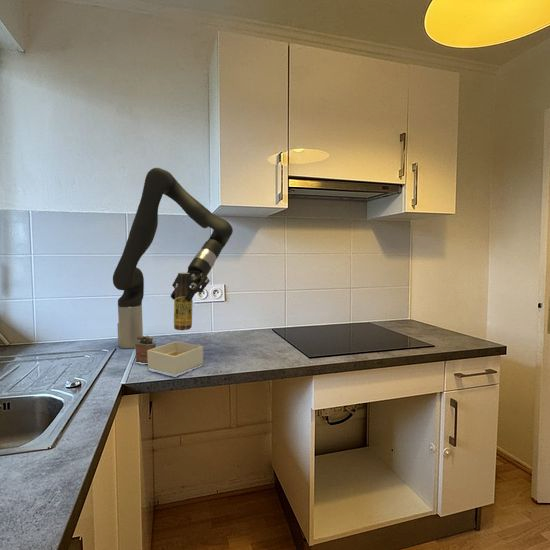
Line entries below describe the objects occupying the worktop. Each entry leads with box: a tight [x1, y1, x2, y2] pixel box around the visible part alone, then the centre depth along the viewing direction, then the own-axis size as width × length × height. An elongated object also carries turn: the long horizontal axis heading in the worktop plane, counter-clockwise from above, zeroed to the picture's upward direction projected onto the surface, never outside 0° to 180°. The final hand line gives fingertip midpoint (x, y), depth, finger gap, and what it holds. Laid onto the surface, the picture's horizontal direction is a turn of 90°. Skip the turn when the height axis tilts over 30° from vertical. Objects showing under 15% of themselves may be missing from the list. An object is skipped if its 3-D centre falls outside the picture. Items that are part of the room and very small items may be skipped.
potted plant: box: [135, 335, 157, 363], centre depth 120 cm, size 8×3×10 cm, turn 74°
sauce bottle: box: [173, 272, 193, 331], centre depth 117 cm, size 6×6×20 cm
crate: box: [147, 340, 204, 375], centre depth 115 cm, size 13×13×7 cm
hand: (179, 299), depth 115 cm, fingers closed on sauce bottle, 6 cm apart
